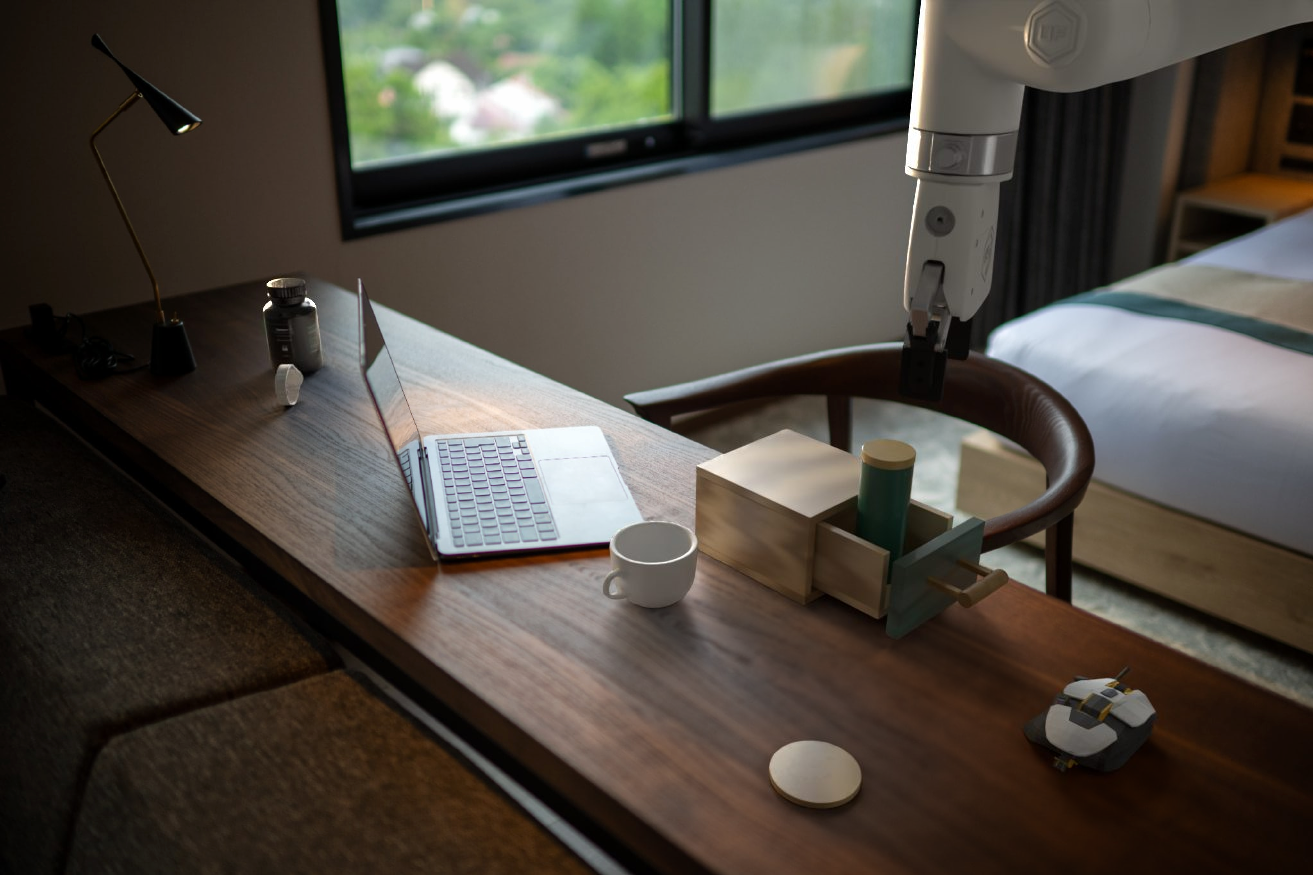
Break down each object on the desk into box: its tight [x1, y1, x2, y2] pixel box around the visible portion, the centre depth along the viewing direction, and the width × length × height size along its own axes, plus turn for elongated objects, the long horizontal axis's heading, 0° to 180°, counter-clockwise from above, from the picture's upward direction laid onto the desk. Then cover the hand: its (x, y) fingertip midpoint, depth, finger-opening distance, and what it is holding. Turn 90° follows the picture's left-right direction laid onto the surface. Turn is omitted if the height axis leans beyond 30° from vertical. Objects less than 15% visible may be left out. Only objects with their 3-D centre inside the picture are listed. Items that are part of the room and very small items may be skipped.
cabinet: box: [694, 428, 862, 606], centre depth 103 cm, size 14×13×9 cm
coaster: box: [768, 740, 863, 810], centre depth 77 cm, size 6×6×1 cm
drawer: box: [812, 498, 1010, 641], centre depth 95 cm, size 17×12×7 cm
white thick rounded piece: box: [274, 365, 304, 406], centre depth 137 cm, size 3×5×5 cm, turn 1°
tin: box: [855, 438, 917, 585], centre depth 95 cm, size 4×4×12 cm
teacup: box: [602, 520, 699, 609], centre depth 96 cm, size 10×8×5 cm
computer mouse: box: [1021, 666, 1159, 773], centre depth 81 cm, size 7×15×4 cm, turn 135°
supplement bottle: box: [262, 277, 324, 376], centre depth 148 cm, size 7×7×12 cm
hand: (934, 376), depth 86 cm, fingers open, 9 cm apart
